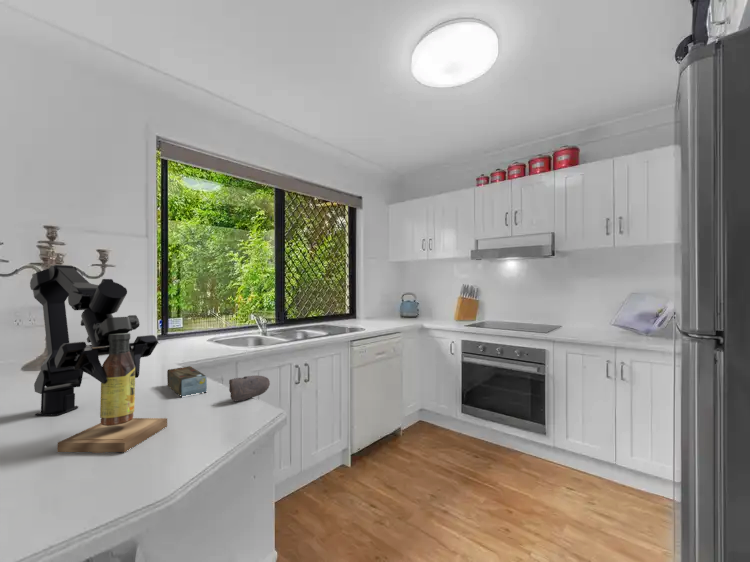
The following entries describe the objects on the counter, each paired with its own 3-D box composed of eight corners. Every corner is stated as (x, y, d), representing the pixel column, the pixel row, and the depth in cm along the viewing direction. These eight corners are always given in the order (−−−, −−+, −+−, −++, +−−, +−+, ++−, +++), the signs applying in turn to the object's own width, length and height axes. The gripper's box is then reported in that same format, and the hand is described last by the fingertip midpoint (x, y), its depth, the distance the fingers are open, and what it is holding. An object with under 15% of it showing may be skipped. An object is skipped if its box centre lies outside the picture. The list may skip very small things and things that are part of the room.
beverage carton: (180, 398, 108) (180, 377, 108) (166, 386, 122) (166, 368, 122) (207, 393, 113) (207, 373, 113) (190, 383, 127) (191, 364, 127)
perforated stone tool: (264, 391, 116) (264, 370, 116) (274, 393, 113) (274, 372, 113) (222, 402, 104) (222, 379, 104) (232, 405, 101) (232, 381, 101)
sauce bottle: (137, 421, 78) (140, 333, 79) (102, 429, 73) (106, 335, 74) (129, 415, 82) (133, 331, 83) (96, 421, 78) (100, 333, 79)
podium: (57, 452, 71) (57, 442, 71) (110, 426, 85) (111, 417, 85) (124, 452, 70) (124, 442, 70) (167, 426, 84) (167, 417, 84)
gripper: (61, 305, 73) (82, 364, 67) (155, 303, 89) (178, 350, 83) (46, 340, 77) (64, 398, 71) (139, 332, 93) (160, 379, 87)
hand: (122, 379), depth 78 cm, fingers closed on sauce bottle, 6 cm apart
